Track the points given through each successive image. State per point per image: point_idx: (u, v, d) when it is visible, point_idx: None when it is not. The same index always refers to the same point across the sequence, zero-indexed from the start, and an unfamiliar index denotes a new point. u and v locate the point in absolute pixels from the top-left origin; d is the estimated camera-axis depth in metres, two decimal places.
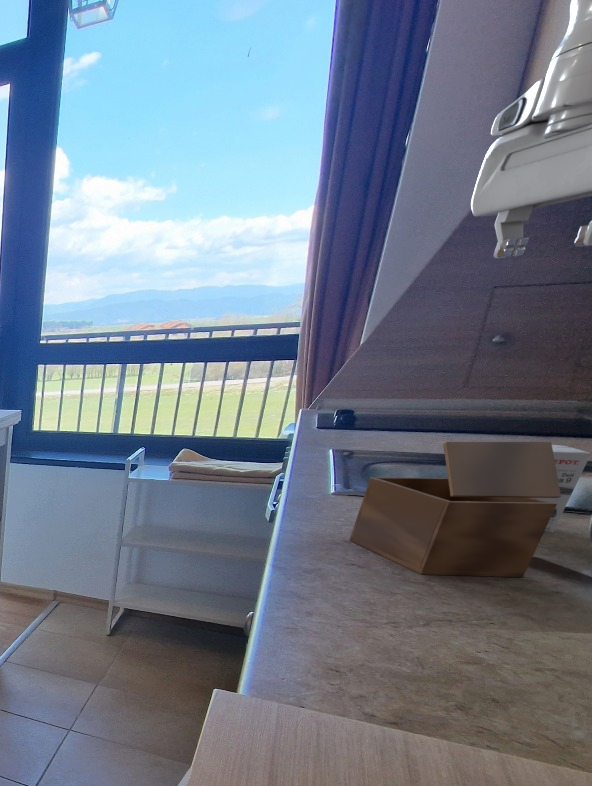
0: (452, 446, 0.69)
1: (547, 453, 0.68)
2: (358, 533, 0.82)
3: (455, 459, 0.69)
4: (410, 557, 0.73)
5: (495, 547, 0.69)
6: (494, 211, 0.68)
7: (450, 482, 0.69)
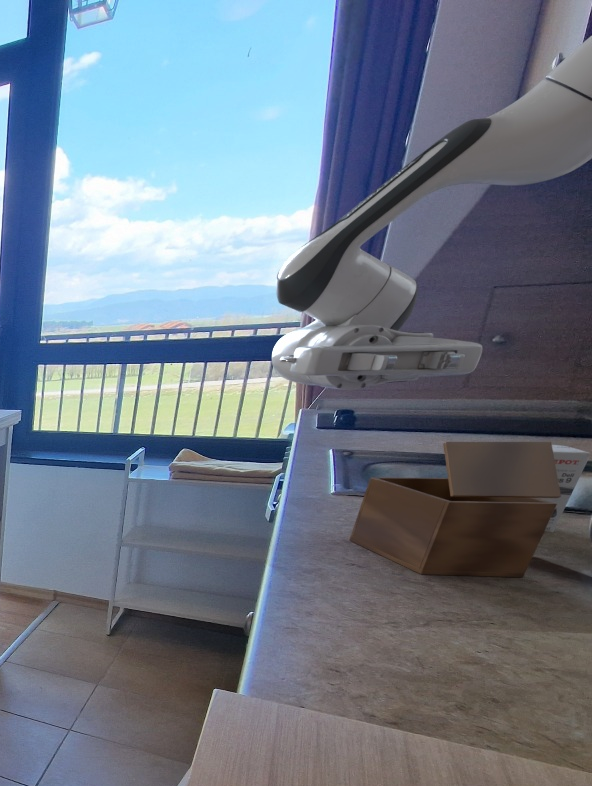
0: (452, 446, 0.69)
1: (547, 453, 0.68)
2: (358, 533, 0.82)
3: (455, 459, 0.69)
4: (410, 557, 0.73)
5: (495, 547, 0.69)
6: (447, 372, 0.83)
7: (450, 482, 0.69)
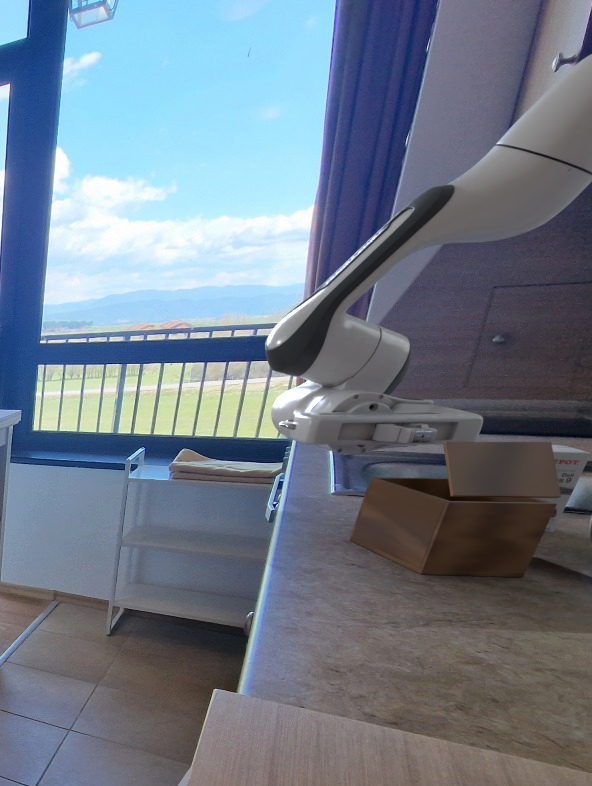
0: (452, 446, 0.69)
1: (547, 453, 0.68)
2: (358, 533, 0.82)
3: (455, 459, 0.69)
4: (410, 557, 0.73)
5: (495, 547, 0.69)
6: None
7: (450, 482, 0.69)
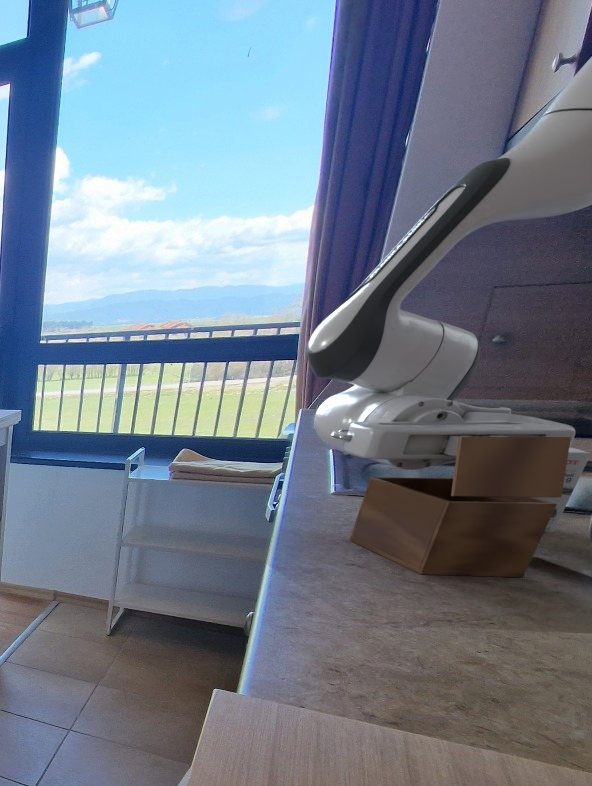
0: (467, 441, 0.67)
1: (562, 450, 0.66)
2: (358, 533, 0.82)
3: (466, 456, 0.68)
4: (410, 557, 0.73)
5: (495, 547, 0.69)
6: None
7: (454, 481, 0.68)
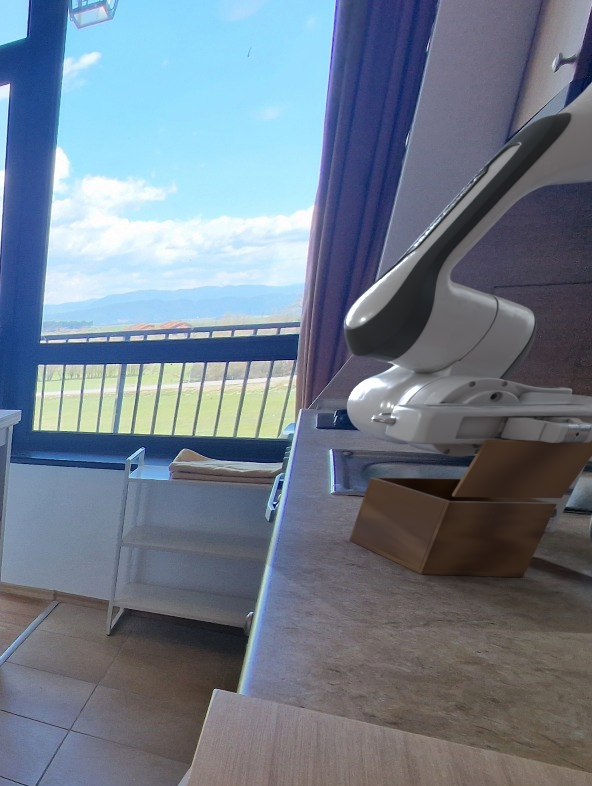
0: (491, 446, 0.65)
1: (586, 454, 0.64)
2: (358, 533, 0.82)
3: (483, 460, 0.65)
4: (410, 557, 0.73)
5: (495, 547, 0.69)
6: None
7: (461, 482, 0.67)
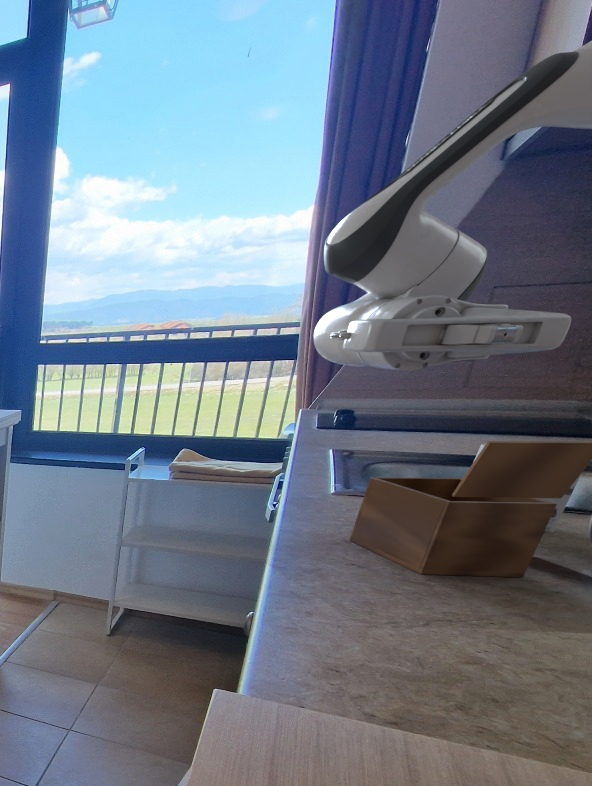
0: (493, 447, 0.64)
1: (588, 455, 0.63)
2: (358, 533, 0.82)
3: (484, 461, 0.65)
4: (410, 557, 0.73)
5: (495, 547, 0.69)
6: (529, 347, 0.72)
7: (461, 483, 0.67)
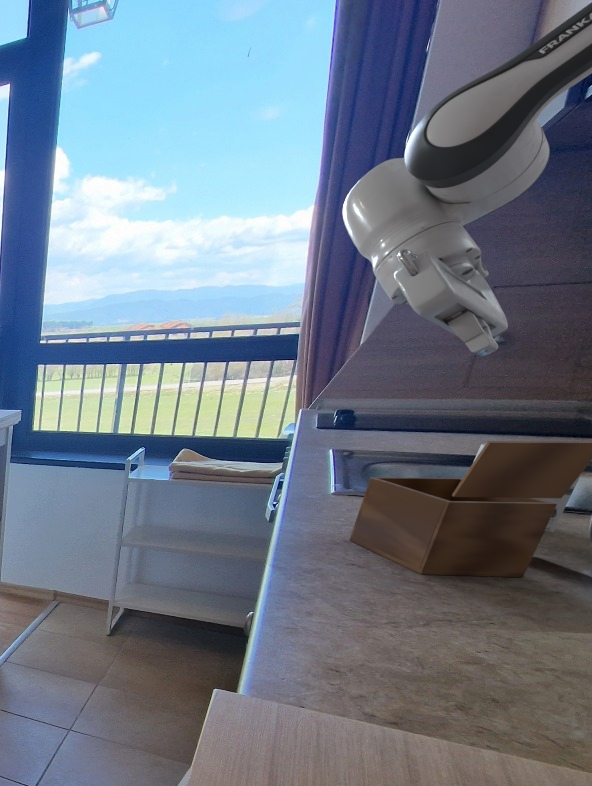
0: (493, 447, 0.64)
1: (588, 455, 0.63)
2: (358, 533, 0.82)
3: (484, 461, 0.65)
4: (410, 557, 0.73)
5: (495, 547, 0.69)
6: None
7: (461, 483, 0.67)
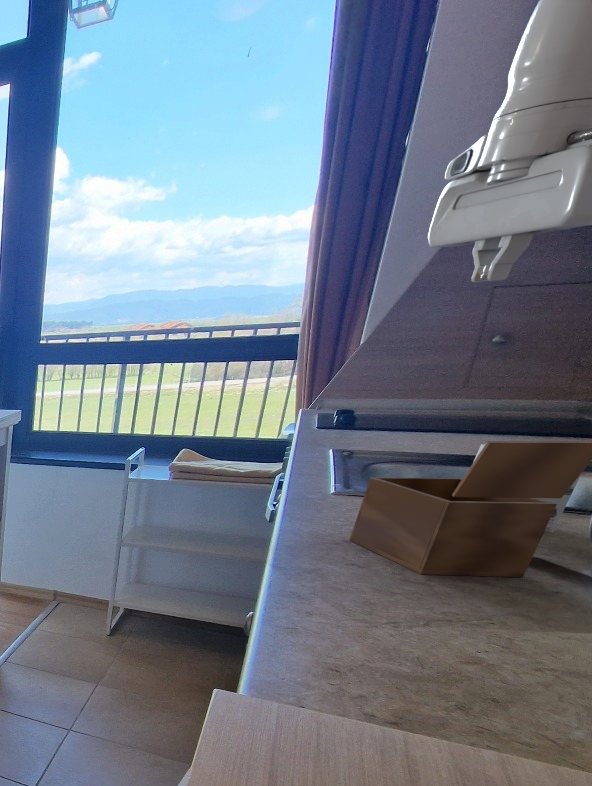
0: (493, 447, 0.64)
1: (588, 455, 0.63)
2: (358, 533, 0.82)
3: (484, 461, 0.65)
4: (410, 557, 0.73)
5: (495, 547, 0.69)
6: (446, 244, 0.80)
7: (461, 483, 0.67)
